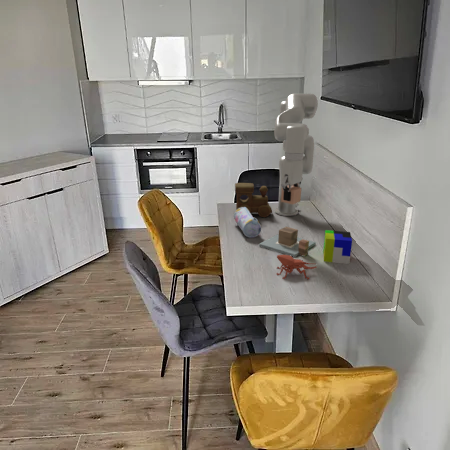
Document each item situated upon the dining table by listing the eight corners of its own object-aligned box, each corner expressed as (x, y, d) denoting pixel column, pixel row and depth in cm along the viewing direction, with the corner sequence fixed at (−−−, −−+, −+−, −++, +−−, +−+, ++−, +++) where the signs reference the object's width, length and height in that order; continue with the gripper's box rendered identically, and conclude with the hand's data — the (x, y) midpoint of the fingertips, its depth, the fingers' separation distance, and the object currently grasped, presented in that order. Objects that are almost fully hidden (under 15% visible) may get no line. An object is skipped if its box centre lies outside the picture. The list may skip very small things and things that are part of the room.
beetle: (275, 278, 147) (277, 247, 143) (276, 264, 159) (278, 235, 154) (317, 282, 145) (320, 250, 141) (315, 267, 157) (317, 237, 152)
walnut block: (285, 239, 181) (286, 226, 179) (296, 242, 177) (297, 229, 175) (278, 242, 176) (278, 230, 174) (289, 246, 173) (290, 233, 171)
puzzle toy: (349, 264, 160) (352, 240, 157) (323, 261, 162) (326, 238, 158) (347, 254, 169) (350, 232, 166) (323, 251, 171) (325, 230, 168)
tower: (301, 252, 170) (302, 239, 168) (307, 254, 168) (309, 240, 166) (298, 254, 168) (299, 241, 166) (304, 256, 166) (305, 242, 164)
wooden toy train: (234, 217, 212) (235, 187, 207) (234, 211, 223) (235, 182, 217) (272, 218, 212) (273, 188, 206) (270, 211, 223) (271, 182, 217)
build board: (281, 234, 189) (281, 232, 189) (315, 244, 178) (315, 241, 178) (259, 246, 176) (259, 243, 176) (294, 257, 165) (295, 254, 165)
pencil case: (261, 238, 186) (262, 218, 182) (243, 239, 184) (244, 219, 181) (249, 223, 205) (249, 205, 202) (232, 224, 203) (233, 206, 200)
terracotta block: (288, 198, 174) (289, 185, 172) (300, 201, 171) (301, 187, 169) (280, 201, 170) (281, 187, 168) (293, 204, 166) (294, 190, 164)
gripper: (296, 152, 172) (293, 193, 178) (274, 158, 160) (272, 201, 166) (312, 154, 168) (308, 196, 174) (291, 160, 155) (288, 204, 161)
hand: (291, 198), depth 170 cm, fingers closed on terracotta block, 6 cm apart
